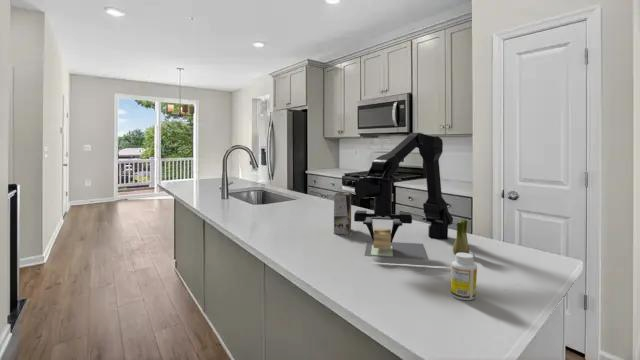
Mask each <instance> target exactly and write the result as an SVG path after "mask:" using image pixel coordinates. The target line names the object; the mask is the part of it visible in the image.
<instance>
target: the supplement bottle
mask: <svg viewBox="0 0 640 360" xmlns="http://www.w3.org/2000/svg"><path fill="white" fill-rule="evenodd" d="M474 257H475V256H474V255H473V254H472V253H470V252H469V253H456V255H455V257H454V258H455V260H453V261H452V263H451V275H450V277H451V282H450V286H451V287H450V295H452V297H453V298H455V299H458V300H460V301H472V300H474V299H475V298H476V295H477V294H476V293H477V277H478V275H477V273H478V266H477V263H475V262H474Z"/></svg>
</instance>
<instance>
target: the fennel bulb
mask: <svg viewBox="0 0 640 360" xmlns="http://www.w3.org/2000/svg"><path fill="white" fill-rule="evenodd" d="M467 228H468V220H467V219H460V221H457V222H456V238H455V240H454V243H453V247H452V252H453V254H454V255H455V256H456V253H469V254H470V245H469V241H468V234H467V231H468V230H467Z"/></svg>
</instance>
